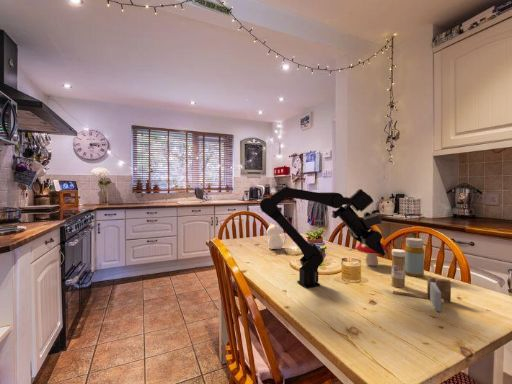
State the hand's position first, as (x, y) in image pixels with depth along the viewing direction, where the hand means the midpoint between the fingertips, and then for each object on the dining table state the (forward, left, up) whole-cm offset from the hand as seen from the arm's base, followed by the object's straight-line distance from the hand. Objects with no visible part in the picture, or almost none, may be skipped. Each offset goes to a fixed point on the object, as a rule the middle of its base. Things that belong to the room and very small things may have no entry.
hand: (378, 251), depth 95 cm
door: (+2, -19, -12) cm, 23 cm away
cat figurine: (-7, +65, -13) cm, 67 cm away
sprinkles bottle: (+7, -3, -13) cm, 15 cm away
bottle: (+24, +2, -13) cm, 27 cm away
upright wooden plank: (+5, -13, -13) cm, 19 cm away
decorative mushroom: (+18, +18, -13) cm, 29 cm away
